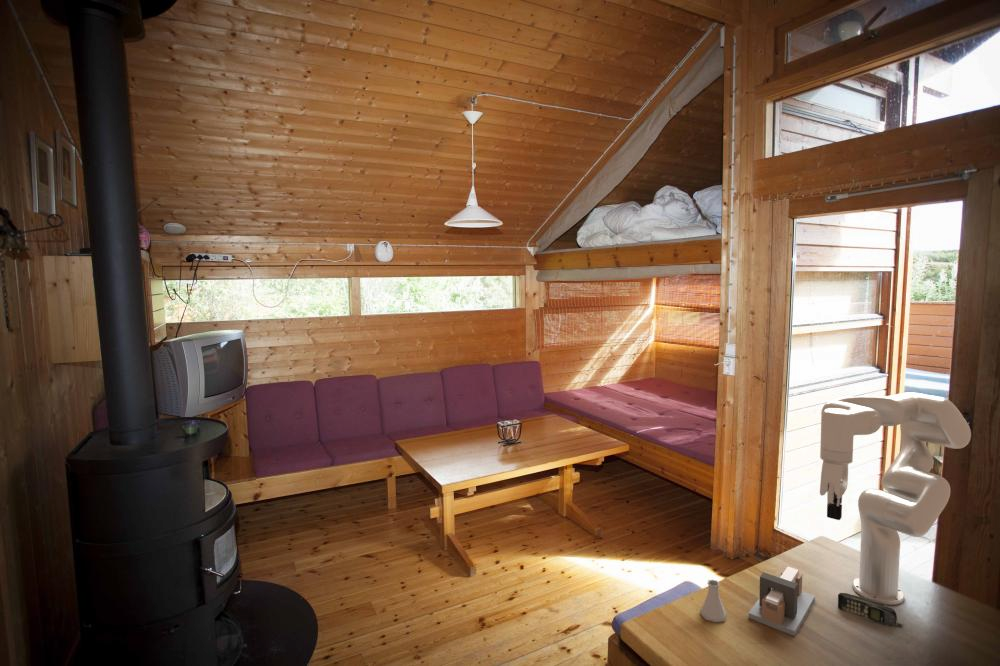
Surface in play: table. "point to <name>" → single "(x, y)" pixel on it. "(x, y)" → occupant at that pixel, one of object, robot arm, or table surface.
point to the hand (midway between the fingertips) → (834, 517)
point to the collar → (784, 586)
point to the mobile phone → (867, 609)
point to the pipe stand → (783, 606)
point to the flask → (713, 604)
